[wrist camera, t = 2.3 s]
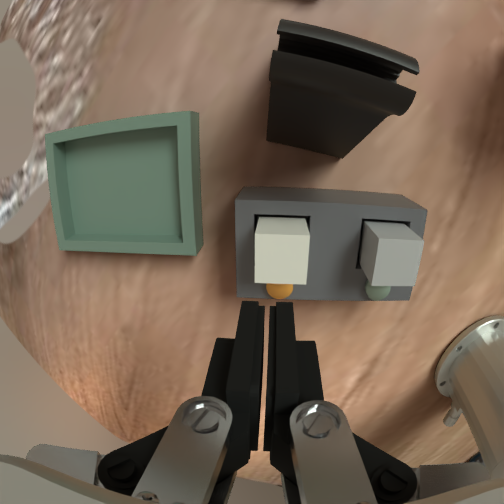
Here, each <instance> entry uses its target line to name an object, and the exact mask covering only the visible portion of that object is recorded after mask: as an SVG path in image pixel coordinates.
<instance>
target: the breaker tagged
mask: <svg viewBox="0 0 504 504" xmlns="http://www.w3.org/2000/svg"><path fill="white" fill-rule="evenodd" d="M309 242H310V234H309V230H308V227H307V223H306V219H305V218H286V217H259V219H258V223H257V227H256V231H255V283H273V284H304V285H306V281H307V269H308V256H309Z"/></svg>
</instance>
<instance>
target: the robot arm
mask: <svg viewBox="0 0 504 504" xmlns="http://www.w3.org/2000/svg"><path fill="white" fill-rule="evenodd" d="M264 314H265V306H259V303H258V301H242V304H241V309H240V315H239V320H238V326H237V331H236V337H235V339H230V338H217V339H216V342H215V345H214V349H213V353H212V357H211V361H210V365H209V368H208V372H207V376H206V380H205V384H204V388H203V392H202V396H199V397H194V398H191V399H189V400H187V401H185V402H184V403H182V404H181V406H180V407H179V408H178V409H177V411H176V413H175V415H174V417H173V419H172V421H171V422H170V424H169V426H167V427H165V428H163V429H161V430H159V431H157V432H155V433H152V434H150V435H148V436H146V437H144V438H142V439H139V440H137V441H135V442H133V443H131V444H128V445H126V446H124V447H121V448H119V449H117V450H114V451H112V452H110V453H109V454H107V455H100V454H99V452H97V451H88V450H79V449H72V448H65V447H59V446H52V445H47V444H39V445H37V446H34V447H33V448H32V449H31V450H29V452H28V454H27V456H26V459H24V458H20V457H15V456H9V455H0V504H227V502H228V499H229V496H230V493H231V490H232V487H233V484H234V481H235V478H236V475H237V470H238V469H240V468H241V467H243V466H244V465H246V464H247V463H248V460H249V459H250V453H251V450H252V451H257V450H258V437H259V423H260V408H261V393H262V377H263V351H264ZM434 378H435V384H436V386H437V389H438V390H439V392H440V393H441V394H442V395H444V396H446V397H451V399H452V403H451V409H450V410H449V411H448V413H447V414H446V416H445V418H444V420H443V422H444V424H445V425H446V426H449V427H450V426H453V425H454V424H455V423H456V421H457V420H458V418H459V416H460V414H461V413H463V415H464V416H465V418H466V421H467V423H468V425H469V427H470V430H471V432H472V434H473V436H474V439H475V441H476V444H477V446H478V448H479V451H480V453H481V456H482V458H483V461H484V463H485V466H486V467H485V466H484V465H482V464H480V463H478V462H468V463H456V464H440V465H420V466H419V467H418V468H411V467H409V466H408V465H407V464H405V463H403V462H401V461H400V460H398V459H396V458H394V457H392V456H391V455H389V454H387V453H385V452H384V451H382V450H380V449H379V448H377V447H375V446H374V445H372V444H370V443H369V442H367V441H365V440H364V439H362V438H360V437H359V436H357V435H355V434H354V433H352V431H351V429H350V426H349V424H348V421H347V418H346V416H345V414H344V413H343V411H342V410H341V409H340V408H339V407H338V406H337V405H335V404H332V403H330V402H327V401H324V397H323V390H322V382H321V375H320V369H319V362H318V355H317V349H316V343H315V341H296V337H295V324H294V312H293V303H292V302H276V306H270V316H269V343H268V367H267V389H266V410H265V429H264V447H263V451H270V464H271V465H272V466H274V467H275V468H276V469H277V470H278V471H280V472H281V481H282V487H283V492H284V497H285V504H504V316H500V315H497V316H490V317H486V318H484V319H482V320H480V321H478V322H476V323H474V324H473V325H471V326H470V327H468V328H467V329H466V330H465V331H463V332H462V333H461V334H460V335H459V336H458V337H457V338H456V339H455V340H454V341H453V342H452V343H451V344H450V346H449V347H448V348H447V349H446V351H445V352H444V354H443V355H442V357H441V359H440V361H439V363H438V365H437V368H436V371H435V377H434Z"/></svg>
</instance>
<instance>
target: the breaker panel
mask: <svg viewBox="0 0 504 504" xmlns="http://www.w3.org/2000/svg"><path fill="white" fill-rule="evenodd" d="M426 216H427V210H426V209H425V208H423V207H422V206H420V205H418V204H417V203H415V202H413V201H412V200H410V199H408V198H406V197H405V196H403V195H399V194H388V193H376V192H363V191H348V190H332V189H312V188H287V187H243V189H242V190H241V192H240V193H239V195H238V196H237V198H236V199H235V236H236V282H237V297H244V298H267V299H296V300H349V301H395V300H409V299H410V295H411V291H412V287H413V286H371V284H370V282H369V280H368V279H367V277H366V275H365V273H364V271H363V269H362V267H361V266H360V264H359V256H360V249H361V241H362V233H363V224H364V221H374V222H390V223H404V224H405V225H406V226H407V227H409V228H410V229H411V230H412V231H413V232H415V233H416V234H417V235H418V236H419V237H420V238H422V239H423V234H424V228H425V222H426ZM259 217H286V218H305V219H306V223H307V227H308V230H309V234H310V242H309V256H308V269H307V281H306V285H304V284H273V283H255V231H256V227H257V223H258V219H259Z"/></svg>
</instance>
